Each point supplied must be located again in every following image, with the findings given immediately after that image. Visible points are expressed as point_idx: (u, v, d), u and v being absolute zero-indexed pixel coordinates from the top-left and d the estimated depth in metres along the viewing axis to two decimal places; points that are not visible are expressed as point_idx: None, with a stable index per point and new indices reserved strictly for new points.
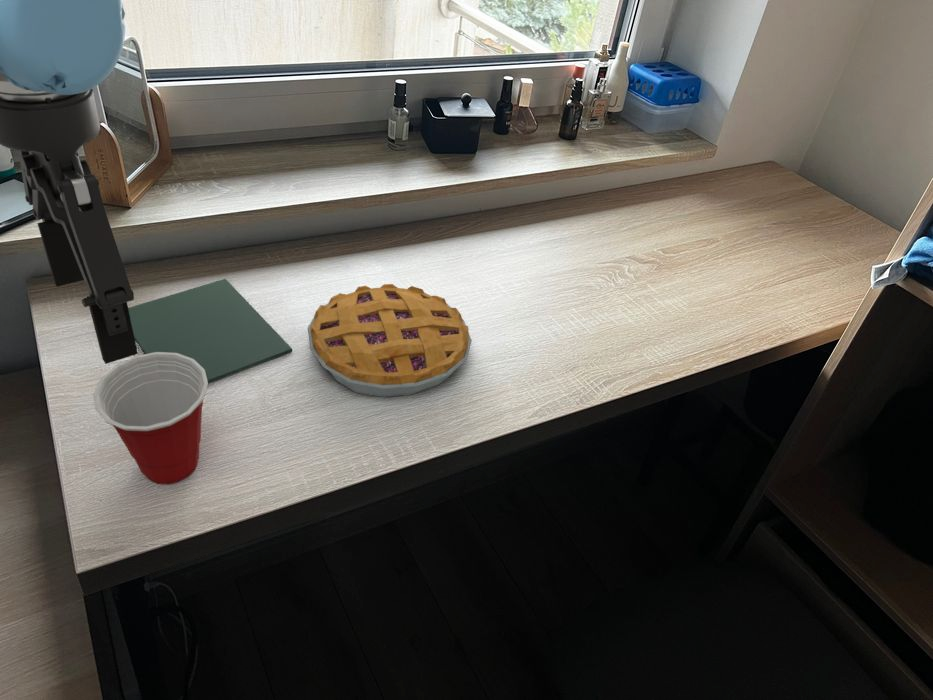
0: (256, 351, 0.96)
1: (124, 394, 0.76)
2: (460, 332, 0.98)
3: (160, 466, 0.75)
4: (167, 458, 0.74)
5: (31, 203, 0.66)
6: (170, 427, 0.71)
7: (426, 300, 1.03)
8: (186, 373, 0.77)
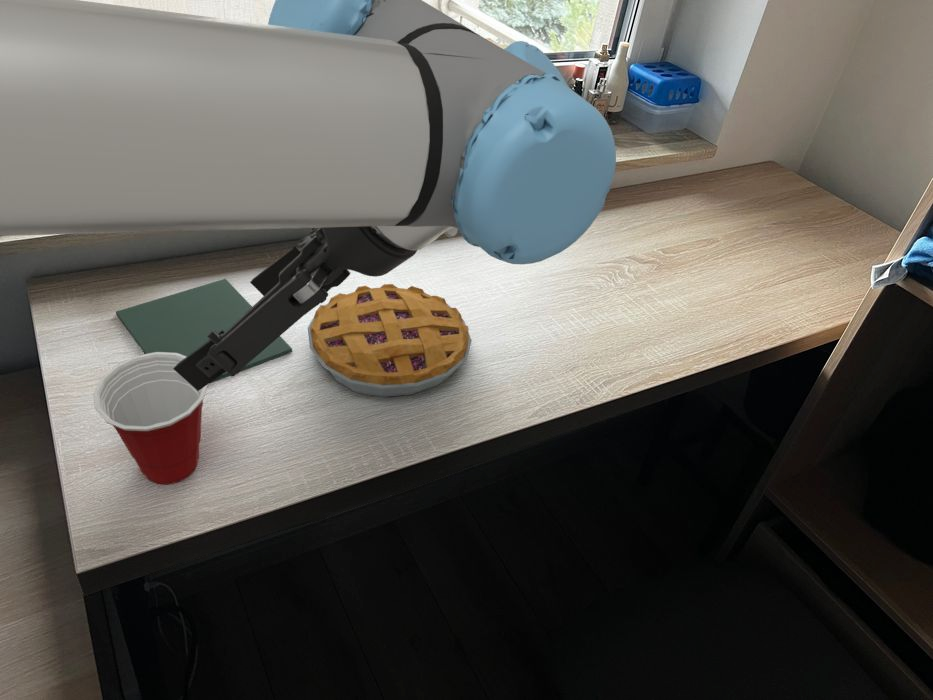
0: None
1: (124, 394, 0.76)
2: (460, 332, 0.98)
3: (160, 466, 0.75)
4: (167, 458, 0.74)
5: (311, 232, 0.68)
6: (170, 427, 0.71)
7: (426, 300, 1.03)
8: None
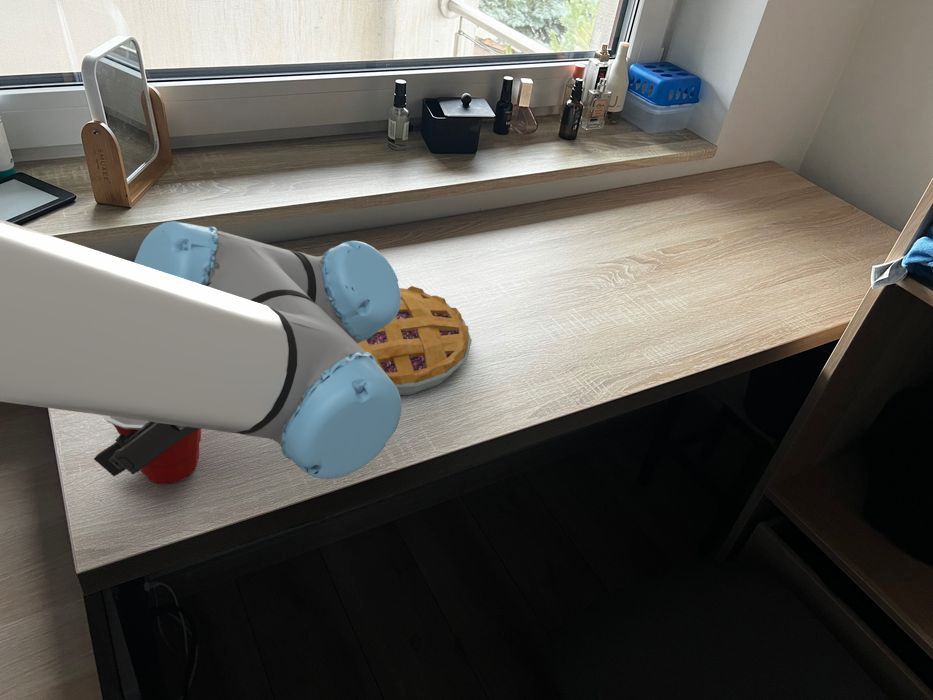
0: None
1: None
2: (460, 332, 0.98)
3: (160, 465, 0.75)
4: (167, 457, 0.74)
5: None
6: None
7: (426, 300, 1.03)
8: None
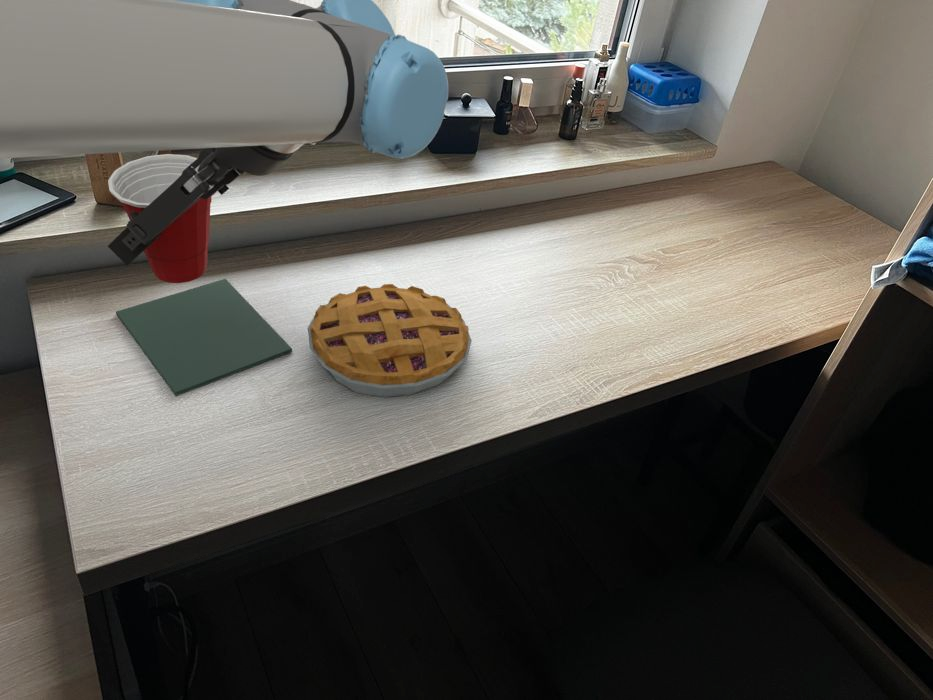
0: (256, 351, 0.96)
1: (137, 192, 0.80)
2: (460, 332, 0.98)
3: (171, 258, 0.79)
4: (178, 249, 0.78)
5: None
6: None
7: (426, 300, 1.03)
8: None
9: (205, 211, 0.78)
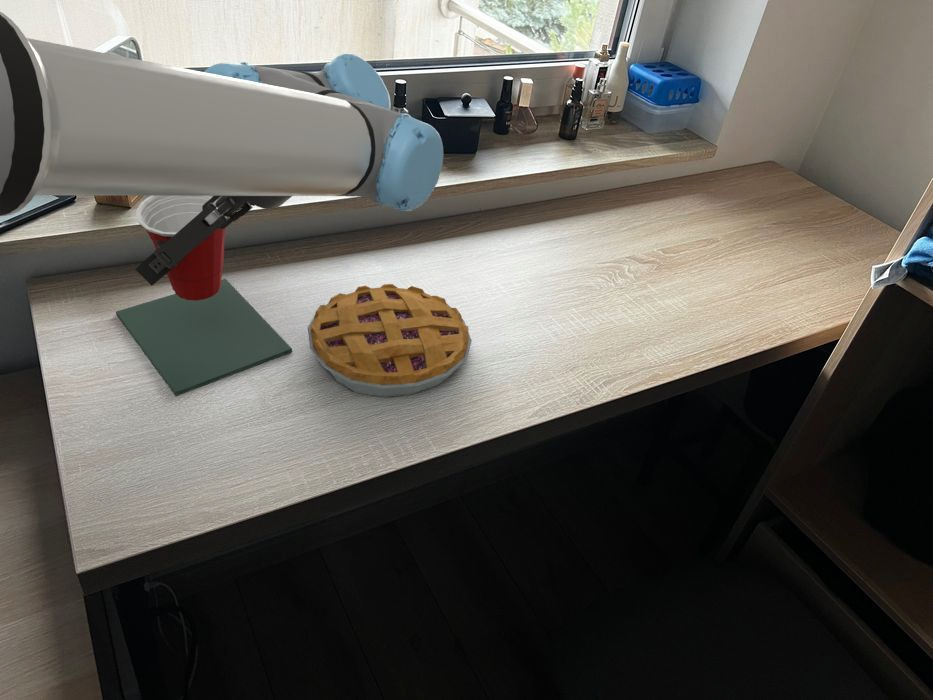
0: (256, 351, 0.96)
1: (160, 220, 0.90)
2: (460, 332, 0.98)
3: (190, 279, 0.89)
4: (196, 271, 0.89)
5: None
6: None
7: (426, 300, 1.03)
8: None
9: (221, 237, 0.89)
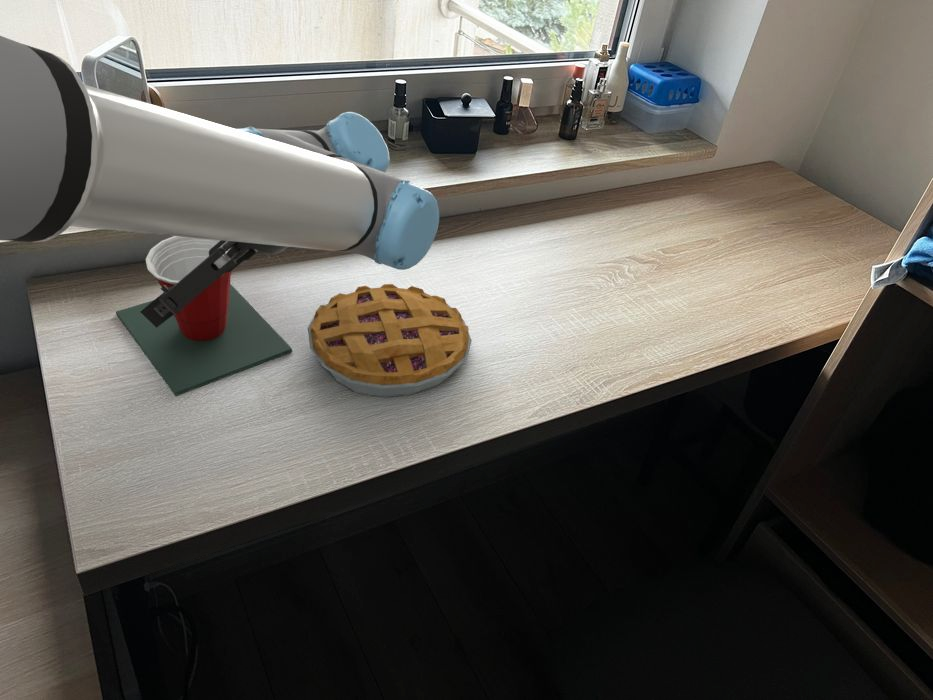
0: (256, 351, 0.96)
1: (168, 265, 0.94)
2: (460, 332, 0.98)
3: (197, 322, 0.93)
4: (203, 314, 0.93)
5: None
6: None
7: (426, 300, 1.03)
8: None
9: (226, 283, 0.93)
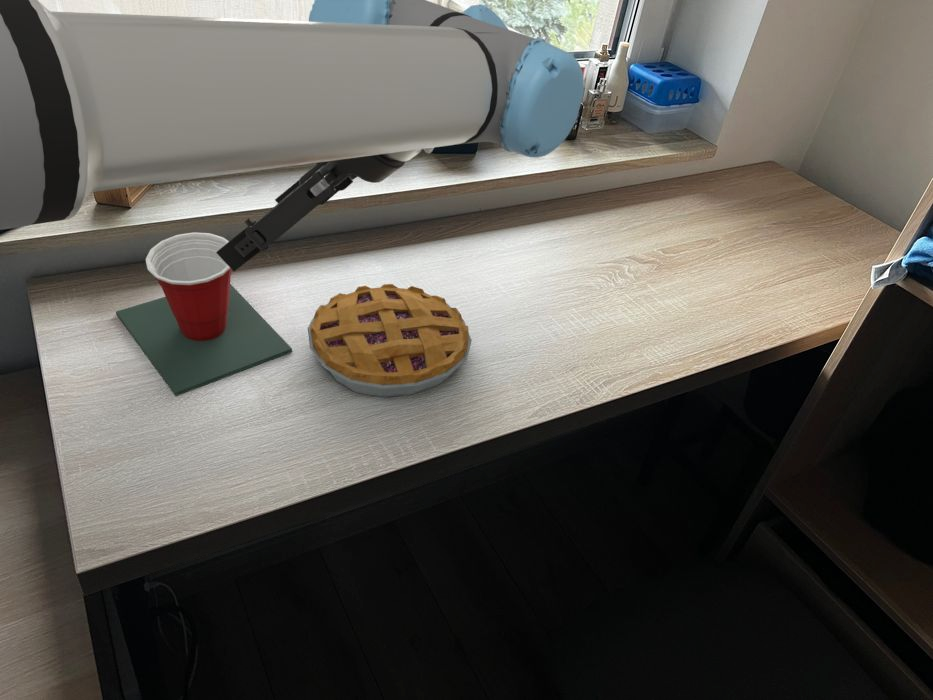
0: (256, 351, 0.96)
1: (168, 265, 0.94)
2: (460, 332, 0.98)
3: (197, 322, 0.93)
4: (203, 314, 0.93)
5: None
6: (207, 284, 0.89)
7: (426, 300, 1.03)
8: None
9: (226, 283, 0.93)
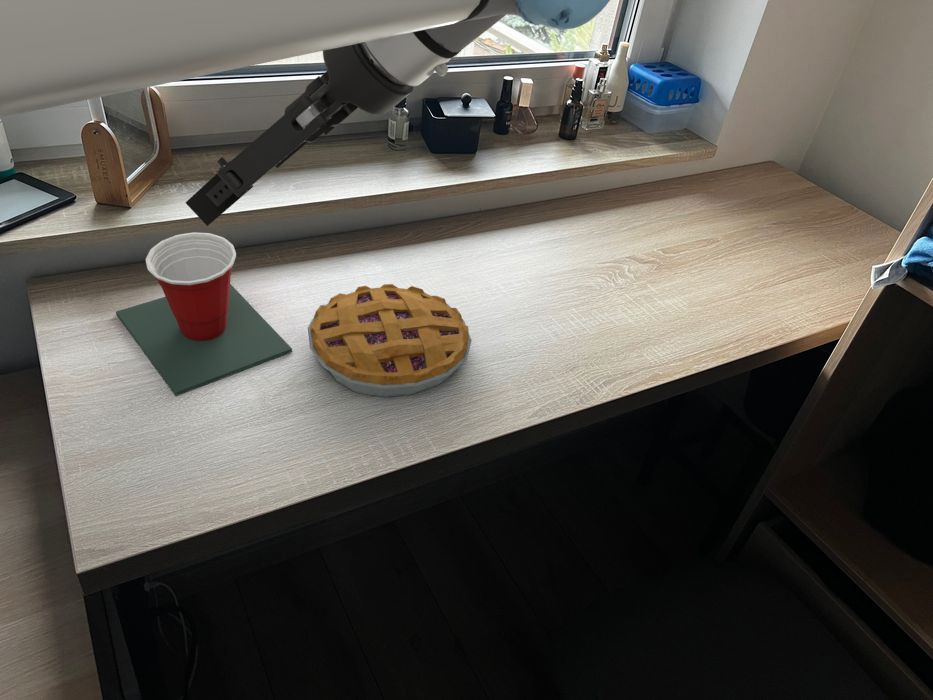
0: (256, 351, 0.96)
1: (168, 265, 0.94)
2: (460, 332, 0.98)
3: (197, 322, 0.93)
4: (203, 314, 0.93)
5: None
6: (207, 284, 0.89)
7: (426, 300, 1.03)
8: (218, 250, 0.95)
9: (226, 283, 0.93)
